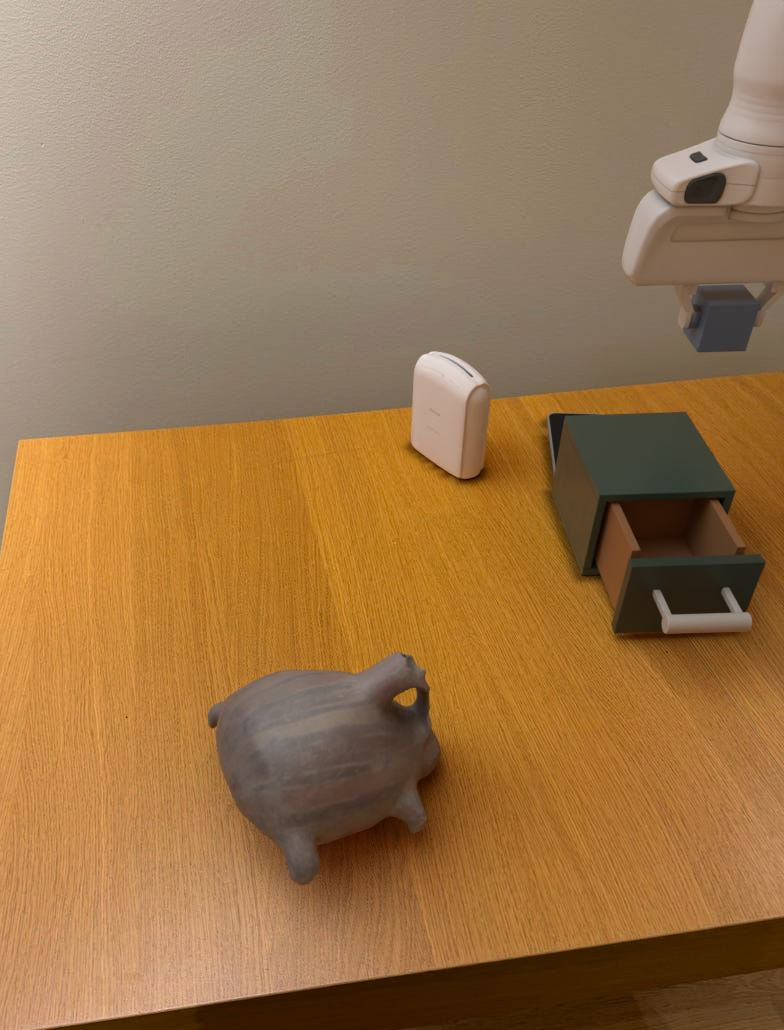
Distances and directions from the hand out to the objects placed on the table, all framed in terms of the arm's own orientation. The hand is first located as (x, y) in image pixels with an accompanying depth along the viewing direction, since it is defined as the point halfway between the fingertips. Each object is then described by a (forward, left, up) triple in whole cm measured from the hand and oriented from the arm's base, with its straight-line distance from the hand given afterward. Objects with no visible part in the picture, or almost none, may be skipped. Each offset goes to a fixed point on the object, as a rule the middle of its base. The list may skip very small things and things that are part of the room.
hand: (717, 325), depth 88 cm
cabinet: (+7, +6, -19) cm, 21 cm away
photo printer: (+24, -9, -20) cm, 32 cm away
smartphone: (+7, -9, -19) cm, 23 cm away
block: (0, 0, -2) cm, 2 cm away
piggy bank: (+38, +40, -20) cm, 59 cm away
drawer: (+7, +19, -18) cm, 27 cm away
